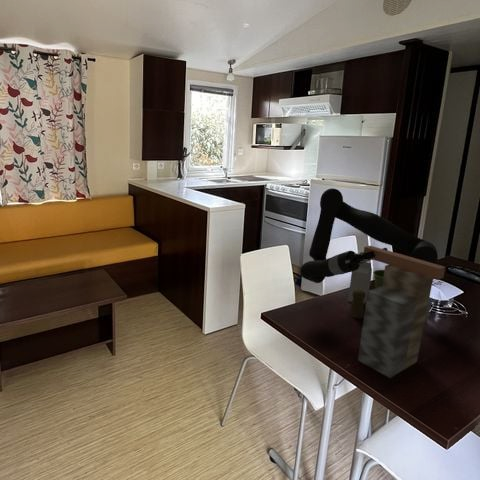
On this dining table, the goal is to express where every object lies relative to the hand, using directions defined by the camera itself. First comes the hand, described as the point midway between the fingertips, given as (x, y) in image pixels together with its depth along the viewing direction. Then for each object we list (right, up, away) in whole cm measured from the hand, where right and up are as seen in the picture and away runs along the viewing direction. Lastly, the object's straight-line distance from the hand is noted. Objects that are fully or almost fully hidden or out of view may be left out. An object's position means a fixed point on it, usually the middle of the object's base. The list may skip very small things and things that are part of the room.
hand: (380, 252), depth 129 cm
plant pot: (+21, -23, +53) cm, 61 cm away
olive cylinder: (+1, -28, +32) cm, 42 cm away
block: (+5, -4, -5) cm, 8 cm away
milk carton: (+6, -24, +46) cm, 52 cm away
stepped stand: (+2, -37, -1) cm, 37 cm away
